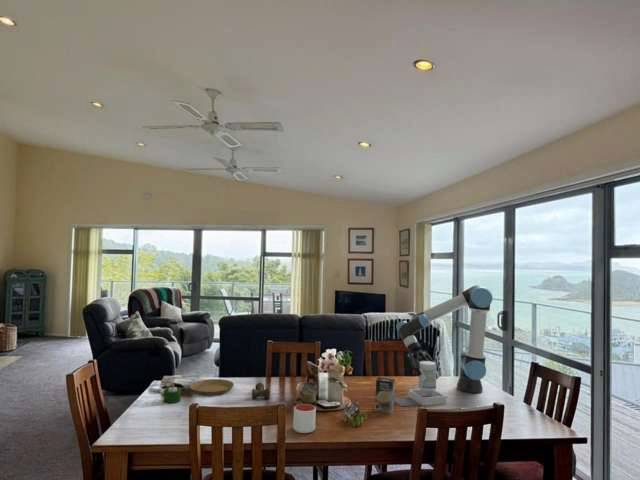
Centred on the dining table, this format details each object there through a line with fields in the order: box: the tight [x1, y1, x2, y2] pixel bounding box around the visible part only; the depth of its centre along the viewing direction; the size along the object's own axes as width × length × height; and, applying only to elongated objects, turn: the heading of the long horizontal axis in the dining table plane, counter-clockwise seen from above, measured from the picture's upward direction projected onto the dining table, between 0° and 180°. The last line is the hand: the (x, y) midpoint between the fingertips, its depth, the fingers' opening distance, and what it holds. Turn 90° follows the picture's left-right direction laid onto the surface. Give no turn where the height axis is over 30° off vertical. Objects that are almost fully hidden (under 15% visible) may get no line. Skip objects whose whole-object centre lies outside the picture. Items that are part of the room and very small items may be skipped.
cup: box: [292, 403, 317, 434], centre depth 197 cm, size 10×10×10 cm
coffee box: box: [374, 376, 396, 415], centre depth 225 cm, size 9×6×16 cm
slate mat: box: [394, 397, 421, 407], centre depth 240 cm, size 12×12×1 cm
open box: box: [408, 388, 448, 406], centre depth 244 cm, size 15×15×4 cm
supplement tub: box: [418, 360, 437, 391], centre depth 245 cm, size 10×10×15 cm
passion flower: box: [342, 401, 368, 428], centre depth 207 cm, size 11×11×12 cm
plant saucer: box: [190, 378, 235, 397], centre depth 248 cm, size 24×24×3 cm
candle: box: [163, 381, 182, 405], centre depth 228 cm, size 8×8×10 cm
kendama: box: [251, 382, 271, 400], centre depth 240 cm, size 6×10×20 cm
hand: (431, 378), depth 242 cm, fingers closed on supplement tub, 9 cm apart
